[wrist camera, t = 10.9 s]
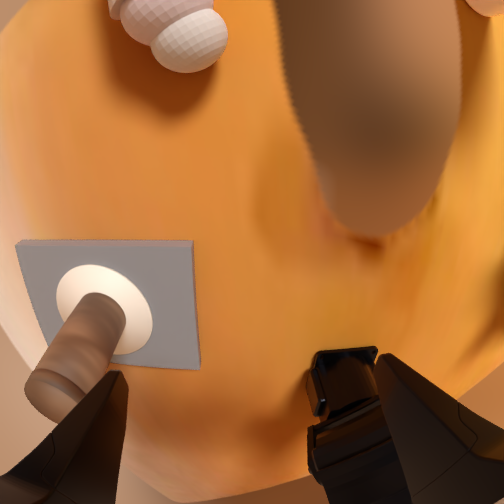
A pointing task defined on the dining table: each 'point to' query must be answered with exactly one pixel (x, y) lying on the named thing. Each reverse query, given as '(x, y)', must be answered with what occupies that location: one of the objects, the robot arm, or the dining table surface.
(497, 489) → the robot arm
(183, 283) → the serving board
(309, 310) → the dining table surface
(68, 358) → the pepper mill
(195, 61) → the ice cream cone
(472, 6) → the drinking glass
